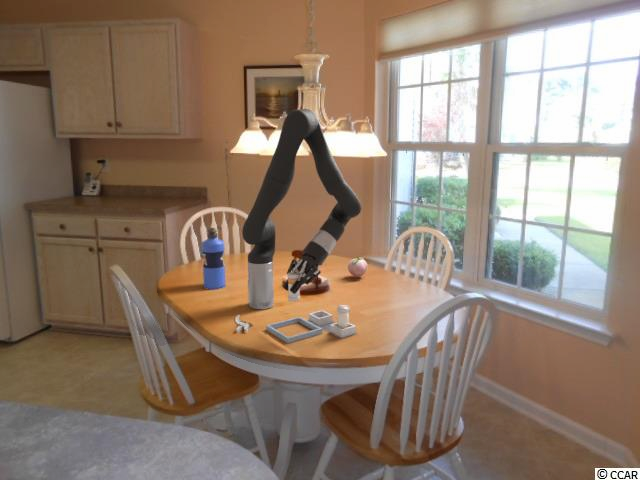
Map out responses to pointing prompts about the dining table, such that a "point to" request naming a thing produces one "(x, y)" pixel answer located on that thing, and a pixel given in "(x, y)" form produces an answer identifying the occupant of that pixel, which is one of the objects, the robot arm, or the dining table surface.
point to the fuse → (343, 316)
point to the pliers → (242, 325)
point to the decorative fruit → (357, 267)
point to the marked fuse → (291, 280)
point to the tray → (315, 331)
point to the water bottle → (213, 261)
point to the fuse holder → (331, 324)
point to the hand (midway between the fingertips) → (288, 290)
